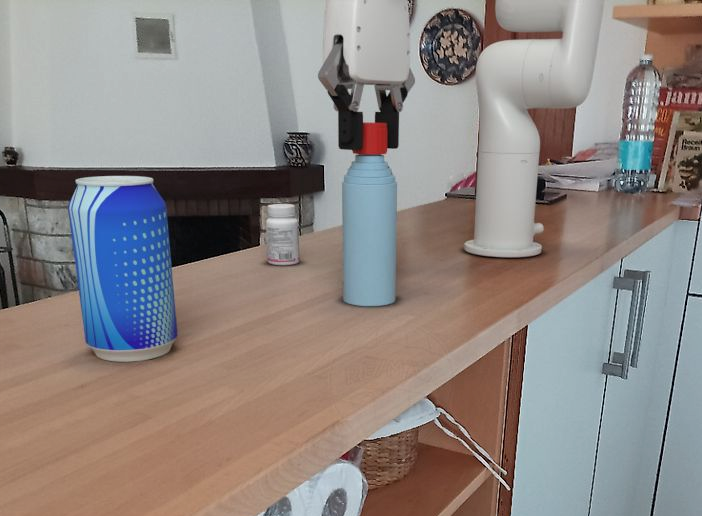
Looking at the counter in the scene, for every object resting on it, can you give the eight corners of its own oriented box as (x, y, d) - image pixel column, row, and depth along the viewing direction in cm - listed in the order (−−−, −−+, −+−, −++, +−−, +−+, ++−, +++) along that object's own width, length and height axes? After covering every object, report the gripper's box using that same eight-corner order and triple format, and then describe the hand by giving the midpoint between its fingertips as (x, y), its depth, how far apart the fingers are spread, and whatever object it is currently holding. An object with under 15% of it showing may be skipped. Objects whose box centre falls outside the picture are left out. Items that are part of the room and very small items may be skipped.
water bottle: (367, 291, 100) (367, 126, 93) (406, 299, 96) (409, 128, 89) (332, 300, 95) (329, 127, 88) (371, 309, 91) (372, 128, 84)
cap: (368, 151, 92) (368, 122, 91) (394, 153, 90) (394, 123, 89) (345, 153, 89) (344, 122, 88) (371, 155, 87) (371, 123, 86)
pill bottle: (278, 258, 120) (276, 202, 117) (305, 261, 118) (304, 204, 115) (261, 263, 116) (258, 206, 113) (288, 267, 114) (286, 208, 111)
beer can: (128, 370, 70) (107, 185, 64) (68, 354, 74) (43, 179, 68) (197, 347, 76) (183, 178, 71) (138, 334, 80) (120, 173, 75)
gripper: (394, -17, 91) (391, 145, 98) (286, -39, 79) (291, 149, 85) (446, -23, 87) (439, 148, 93) (340, -46, 74) (341, 152, 81)
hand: (368, 147), depth 89 cm, fingers open, 5 cm apart
